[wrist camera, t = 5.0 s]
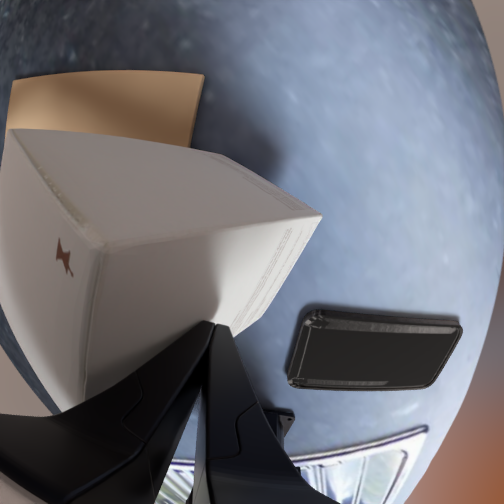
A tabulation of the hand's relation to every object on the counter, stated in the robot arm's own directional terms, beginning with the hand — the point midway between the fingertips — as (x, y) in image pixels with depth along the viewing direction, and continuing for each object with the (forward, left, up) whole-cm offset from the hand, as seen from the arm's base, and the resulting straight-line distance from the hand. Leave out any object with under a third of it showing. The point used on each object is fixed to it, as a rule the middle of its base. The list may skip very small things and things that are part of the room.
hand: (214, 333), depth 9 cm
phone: (-8, -13, -11) cm, 19 cm away
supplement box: (0, 0, -9) cm, 9 cm away
